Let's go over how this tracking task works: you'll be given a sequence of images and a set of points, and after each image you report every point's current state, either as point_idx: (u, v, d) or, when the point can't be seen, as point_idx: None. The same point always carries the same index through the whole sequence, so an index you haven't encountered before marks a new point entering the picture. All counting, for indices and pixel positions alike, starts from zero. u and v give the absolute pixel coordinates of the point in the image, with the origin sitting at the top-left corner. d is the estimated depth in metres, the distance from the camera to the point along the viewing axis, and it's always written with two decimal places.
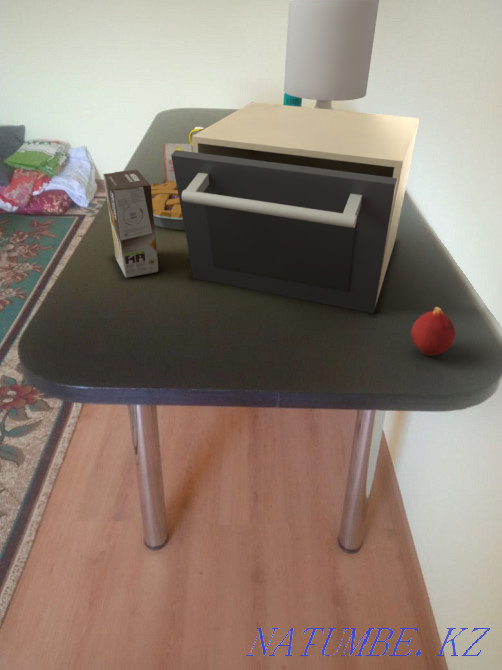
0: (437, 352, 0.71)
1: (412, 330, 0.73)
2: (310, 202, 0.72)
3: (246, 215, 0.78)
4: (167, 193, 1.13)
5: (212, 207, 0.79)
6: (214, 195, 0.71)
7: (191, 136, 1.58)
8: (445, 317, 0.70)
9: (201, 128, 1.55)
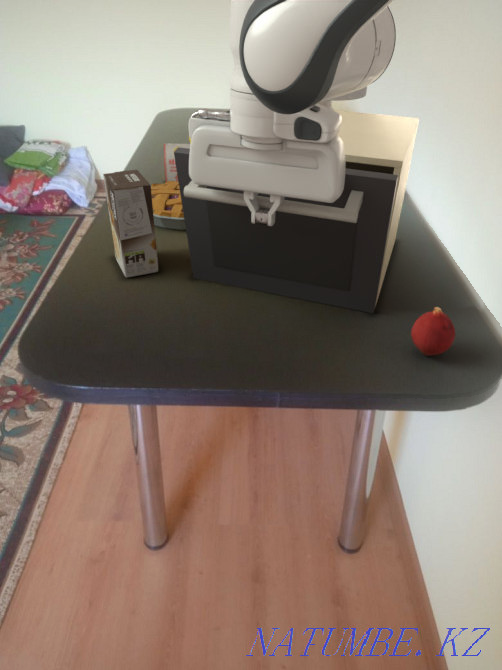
0: (437, 352, 0.71)
1: (412, 330, 0.73)
2: None
3: (247, 213, 0.78)
4: (167, 193, 1.13)
5: (213, 205, 0.79)
6: (216, 190, 0.71)
7: None
8: (445, 317, 0.70)
9: None
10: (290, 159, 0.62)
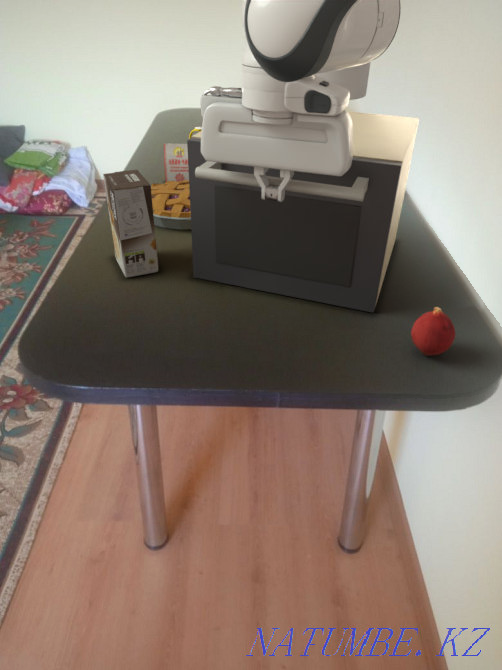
0: (437, 352, 0.71)
1: (412, 330, 0.73)
2: None
3: (254, 203, 0.80)
4: (167, 193, 1.13)
5: (221, 195, 0.81)
6: (227, 171, 0.73)
7: (191, 136, 1.58)
8: (445, 317, 0.70)
9: (201, 128, 1.55)
10: (300, 134, 0.64)
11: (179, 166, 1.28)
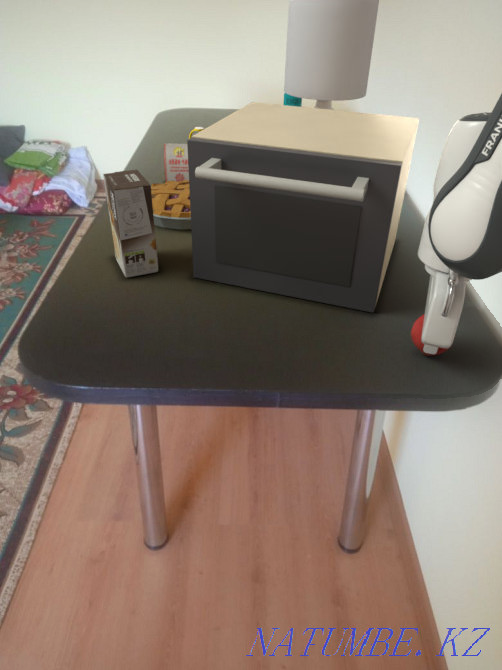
0: (437, 352, 0.71)
1: (412, 330, 0.73)
2: None
3: (254, 203, 0.80)
4: (167, 193, 1.13)
5: (221, 195, 0.81)
6: (227, 171, 0.73)
7: (191, 136, 1.58)
8: None
9: (201, 128, 1.55)
10: None
11: (179, 166, 1.28)
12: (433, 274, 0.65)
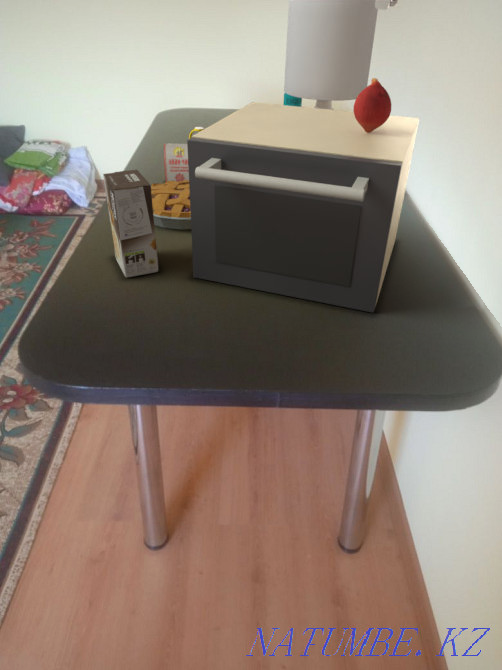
0: (375, 121, 0.80)
1: (354, 105, 0.82)
2: None
3: (254, 203, 0.80)
4: (167, 193, 1.13)
5: (221, 195, 0.81)
6: (227, 171, 0.73)
7: (191, 136, 1.58)
8: (381, 86, 0.79)
9: (201, 128, 1.55)
10: None
11: (179, 166, 1.28)
12: None
